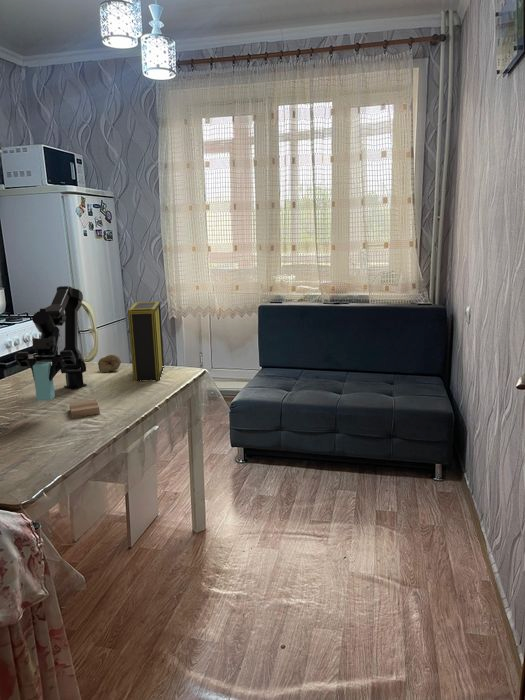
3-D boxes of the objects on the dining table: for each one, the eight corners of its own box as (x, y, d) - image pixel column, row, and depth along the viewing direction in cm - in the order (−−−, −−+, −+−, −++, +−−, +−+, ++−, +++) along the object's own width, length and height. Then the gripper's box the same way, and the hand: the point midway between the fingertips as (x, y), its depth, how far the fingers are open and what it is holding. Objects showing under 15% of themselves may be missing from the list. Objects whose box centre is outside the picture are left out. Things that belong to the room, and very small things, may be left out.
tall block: (41, 396, 180) (37, 362, 177) (55, 395, 180) (50, 361, 178) (37, 400, 176) (32, 365, 173) (50, 400, 176) (46, 365, 173)
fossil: (96, 357, 235) (118, 351, 237) (98, 363, 238) (120, 356, 240) (99, 374, 230) (122, 367, 232) (102, 379, 234) (124, 372, 236)
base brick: (69, 410, 186) (69, 403, 185) (96, 406, 189) (95, 399, 189) (72, 418, 178) (71, 411, 177) (99, 414, 181) (99, 407, 181)
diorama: (140, 368, 237) (135, 302, 230) (164, 367, 238) (160, 301, 231) (133, 382, 217) (127, 309, 210) (159, 380, 218) (154, 308, 211)
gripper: (12, 328, 176) (4, 369, 168) (70, 327, 177) (64, 367, 169) (24, 346, 185) (16, 386, 177) (78, 344, 186) (73, 383, 178)
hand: (42, 380), depth 175 cm, fingers closed on tall block, 4 cm apart
